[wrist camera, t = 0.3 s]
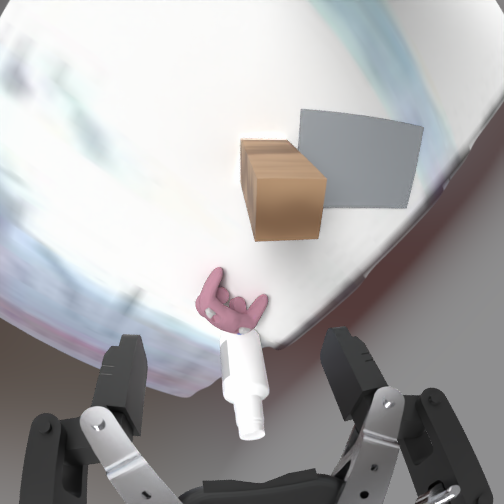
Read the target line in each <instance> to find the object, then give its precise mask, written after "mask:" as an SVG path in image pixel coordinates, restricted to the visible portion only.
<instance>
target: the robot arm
mask: <svg viewBox="0 0 504 504" xmlns="http://www.w3.org/2000/svg"><path fill="white" fill-rule="evenodd" d="M320 359H321V364H322V366H323V369H324V371H325V374H326V376H327V379H328V381H329V384H330V386H331V389H332V391H333V394H334V396H335V399H336V401H337V404H338V406H339V409H340V411H341V414H342V416H343V419H344V421H348V420H352V419H353V421H354V423H355V424H354V426H353V428H352V431H351V434H350V436H349V439H348V441H347V444H346V446H345V449H344V451H343V454H342V456H341V458H340V460H339V462H338V464H337V465H336V467H335V468H334V470H333V472H332V474H331V476H330V475H325V474H317V473H316V470H315V468H314V469H309V470H304V471H299V472H293V473H288V474H286V475H283V476H281V477H278V478H276V479H273V480H270V481H267V482H265V483H251V482H243V481H236V480H217V481H203V486H201V487H197V488H194V489H191V490H189V491H187V492H185V493H184V494H182V495H181V496H179V497H178V498H177V497H176V496H175V495H174V493H173V492H172V491H171V490H170V489H169V488H168V487H167V486H166V485H165V483H164V482H163V481H162V480H161V479H160V477H159V476H158V475H157V474H156V473H155V472H154V470H153V469H152V468H151V467H150V465H149V464H148V463H147V462H146V460H145V459H144V458H143V457H142V455H141V454H140V453H139V452H138V451H137V449H136V448H135V446H134V445H133V444H132V440H133V436H141V425H142V414H143V404H144V396H145V387H146V379H147V370H148V366H147V358H146V354H145V351H144V347H143V343H142V339H141V336H140V335H127V334H123V335H122V337H121V340H120V344H119V346H111V347H110V348H109V350H108V351H107V352H106V353H105V355H104V358H103V362H102V367H101V369H100V375H99V377H98V380H97V384H96V388H95V393H94V397H93V401H92V405H91V407H90V408H89V409H87V410H86V411H84V413H83V414H82V415H81V416H80V417H77V418H71V419H65V420H58V418H57V417H56V416H54V415H52V414H49V413H43V414H40V415H38V416H37V417H36V418H35V419H34V420H33V422H32V425H31V429H30V434H29V438H28V443H27V448H26V454H25V460H24V466H23V473H22V481H21V489H20V501H19V504H86V503H87V474H88V465H89V464H95V463H101V464H102V465H103V467H104V468H105V470H106V475H107V477H108V478H109V480H110V481H111V483H112V484H113V486H114V487H115V489H116V490H117V491H118V493H119V494H120V496H121V497H122V498H123V500H124V501H125V502H126V504H383V502H384V499H385V496H386V493H387V490H388V487H389V484H390V481H391V477H392V474H393V471H394V468H395V464H396V461H397V457H398V453H399V449H401V451H402V454H403V456H404V459H405V462H406V464H407V467H408V470H409V473H410V475H411V478H412V481H413V484H414V487H415V489H416V492H417V495H418V498H417V500H416V502H415V504H493V495H492V492H491V490H490V487H489V485H488V483H487V480H486V478H485V475H484V473H483V471H482V468H481V466H480V464H479V462H478V460H477V457H476V455H475V453H474V451H473V449H472V446H471V445H470V442H469V440H468V438H467V436H466V434H465V432H464V430H463V428H462V426H461V424H460V422H459V420H458V418H457V416H456V415H455V413H454V411H453V409H452V407H451V405H450V403H449V402H448V400H447V398H446V396H445V395H444V393H443V392H442V391H440V390H438V389H436V388H428V389H425V390H424V391H423V393H422V394H421V395H419V396H418V395H417V396H416V395H402V394H401V392H399V390H397V389H395V388H393V387H389V386H388V385H387V383H386V381H385V379H384V377H383V375H382V374H381V372H380V370H379V368H378V366H377V365H376V363H375V361H373V357H372V356H371V354H369V350H368V349H367V347H366V345H365V343H363V342H362V341H361V340H360V339H359V338H358V337H356V336H355V337H352V336H351V334H350V333H349V331H348V329H347V328H346V327H345V326H344V327H335V328H329V329H328V330H327V333H326V336H325V339H324V343H323V346H322V349H321V353H320ZM426 431H427V432H426ZM430 440H431V441H430ZM397 441H398V443H397ZM431 442H432V443H431Z"/></svg>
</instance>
